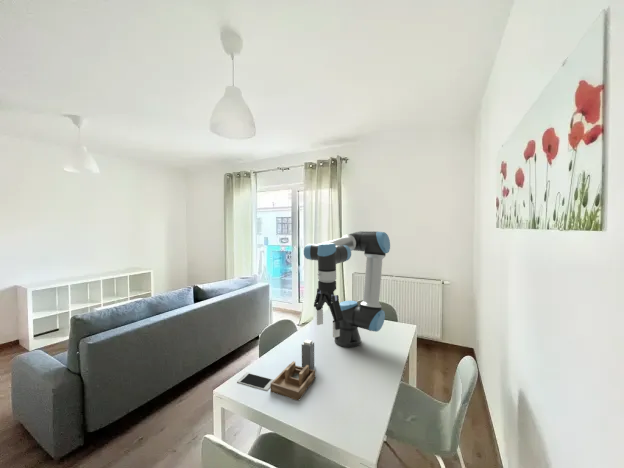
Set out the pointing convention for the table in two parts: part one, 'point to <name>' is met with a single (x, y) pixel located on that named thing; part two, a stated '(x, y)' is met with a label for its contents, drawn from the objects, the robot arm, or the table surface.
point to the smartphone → (255, 381)
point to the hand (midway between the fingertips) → (327, 330)
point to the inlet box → (293, 381)
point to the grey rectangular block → (308, 354)
